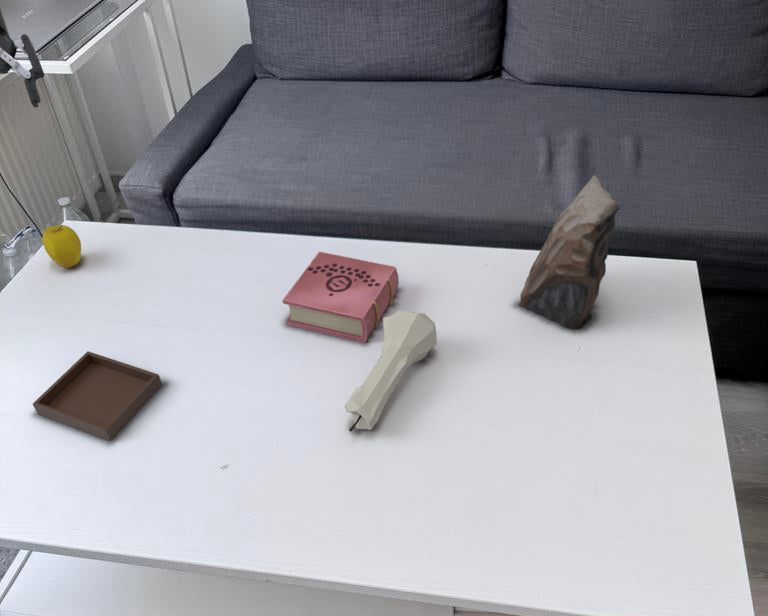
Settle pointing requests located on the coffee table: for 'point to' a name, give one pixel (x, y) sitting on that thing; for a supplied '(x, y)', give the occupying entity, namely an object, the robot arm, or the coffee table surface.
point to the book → (341, 296)
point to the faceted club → (391, 364)
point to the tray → (98, 395)
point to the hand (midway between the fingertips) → (10, 111)
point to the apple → (62, 245)
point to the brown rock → (573, 259)
